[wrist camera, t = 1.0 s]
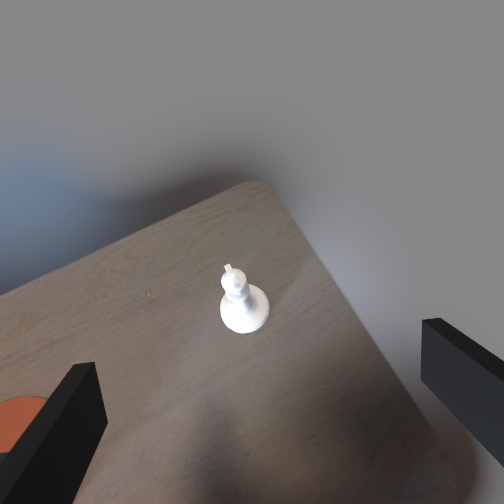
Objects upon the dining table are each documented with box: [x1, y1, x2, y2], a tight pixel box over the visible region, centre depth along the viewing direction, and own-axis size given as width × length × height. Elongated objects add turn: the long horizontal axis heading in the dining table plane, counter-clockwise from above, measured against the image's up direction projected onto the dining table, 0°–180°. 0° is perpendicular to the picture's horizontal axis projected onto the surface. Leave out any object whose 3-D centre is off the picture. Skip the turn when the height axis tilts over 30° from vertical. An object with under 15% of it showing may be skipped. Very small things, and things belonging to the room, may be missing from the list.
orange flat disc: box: [0, 397, 48, 453], centre depth 30 cm, size 12×12×1 cm
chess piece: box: [220, 264, 270, 333], centre depth 31 cm, size 5×5×10 cm
